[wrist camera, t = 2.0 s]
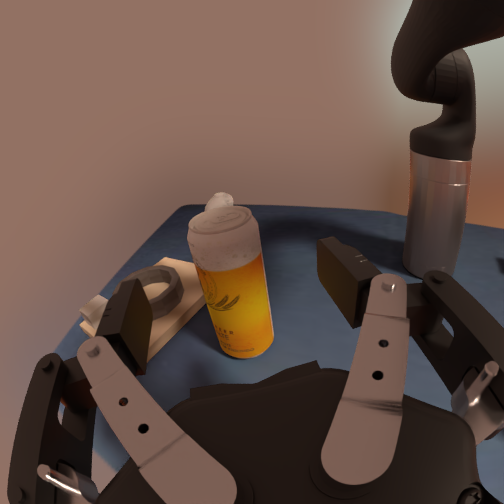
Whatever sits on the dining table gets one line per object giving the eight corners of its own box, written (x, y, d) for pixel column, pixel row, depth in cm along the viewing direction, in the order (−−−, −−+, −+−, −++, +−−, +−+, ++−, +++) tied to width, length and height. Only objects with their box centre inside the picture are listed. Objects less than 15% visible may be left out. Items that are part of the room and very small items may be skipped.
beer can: (215, 333, 31) (179, 216, 24) (261, 316, 33) (241, 199, 26) (230, 370, 26) (190, 241, 19) (283, 349, 28) (268, 218, 21)
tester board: (167, 264, 48) (160, 245, 46) (229, 278, 41) (224, 256, 39) (84, 332, 34) (71, 311, 32) (137, 373, 27) (121, 350, 25)
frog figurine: (242, 219, 61) (237, 190, 58) (218, 232, 57) (211, 200, 54) (225, 215, 65) (220, 187, 62) (202, 226, 61) (195, 197, 58)
